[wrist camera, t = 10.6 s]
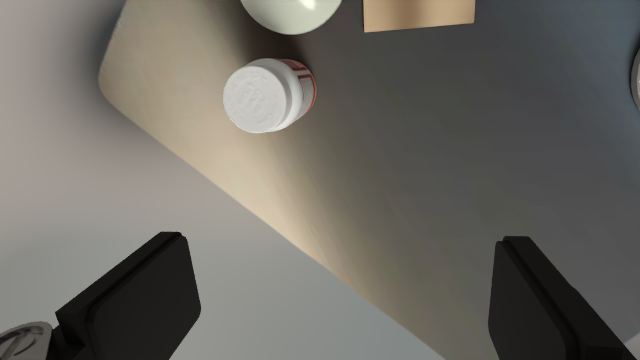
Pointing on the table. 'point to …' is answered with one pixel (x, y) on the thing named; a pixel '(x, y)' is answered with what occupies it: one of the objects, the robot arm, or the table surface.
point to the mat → (415, 13)
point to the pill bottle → (268, 94)
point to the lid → (291, 14)
